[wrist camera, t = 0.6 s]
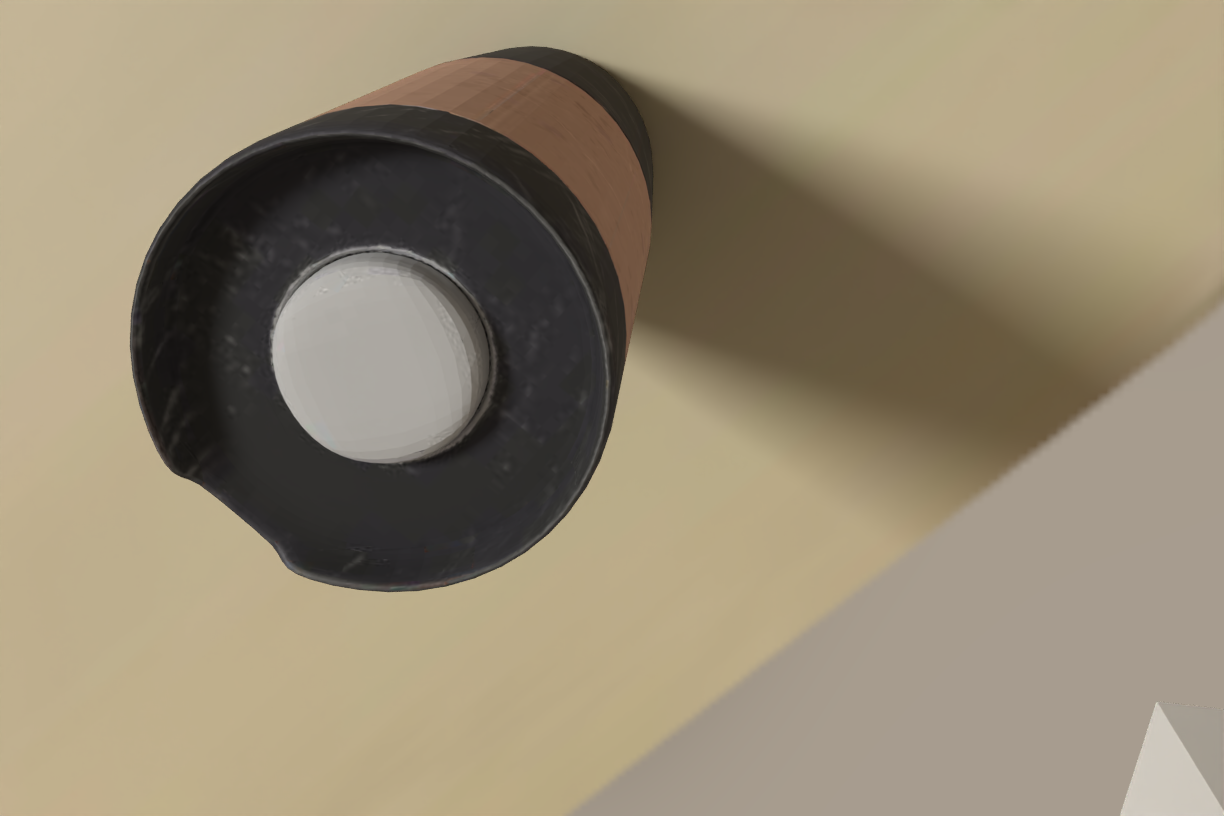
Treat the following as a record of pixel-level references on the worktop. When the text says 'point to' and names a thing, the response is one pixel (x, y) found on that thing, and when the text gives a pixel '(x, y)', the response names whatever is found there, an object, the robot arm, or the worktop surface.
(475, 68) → the travel mug
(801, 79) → the worktop surface
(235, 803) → the worktop surface
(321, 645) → the worktop surface
